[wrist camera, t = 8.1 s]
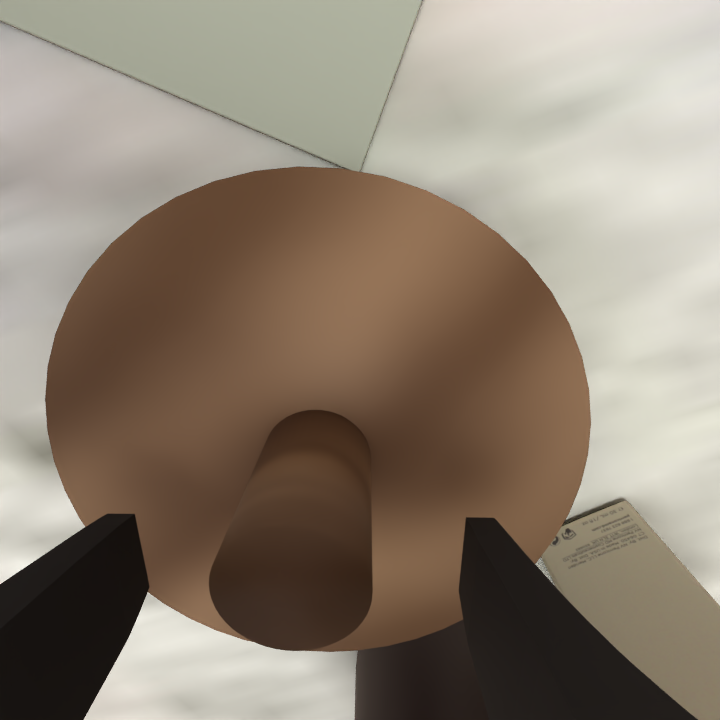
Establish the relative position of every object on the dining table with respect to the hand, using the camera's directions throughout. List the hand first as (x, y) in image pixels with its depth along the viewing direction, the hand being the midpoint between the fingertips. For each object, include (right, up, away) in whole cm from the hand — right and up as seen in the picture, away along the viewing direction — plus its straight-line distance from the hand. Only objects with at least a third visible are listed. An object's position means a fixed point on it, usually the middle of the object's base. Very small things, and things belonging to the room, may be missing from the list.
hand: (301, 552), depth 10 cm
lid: (0, +2, +3) cm, 4 cm away
